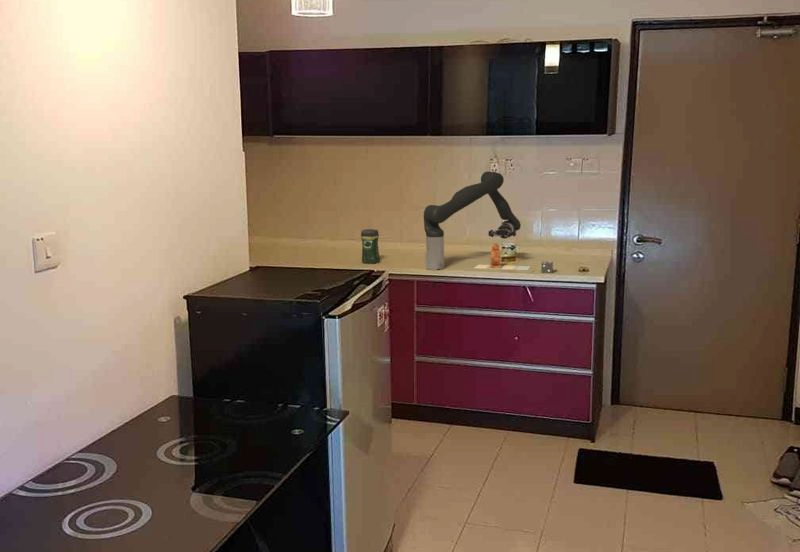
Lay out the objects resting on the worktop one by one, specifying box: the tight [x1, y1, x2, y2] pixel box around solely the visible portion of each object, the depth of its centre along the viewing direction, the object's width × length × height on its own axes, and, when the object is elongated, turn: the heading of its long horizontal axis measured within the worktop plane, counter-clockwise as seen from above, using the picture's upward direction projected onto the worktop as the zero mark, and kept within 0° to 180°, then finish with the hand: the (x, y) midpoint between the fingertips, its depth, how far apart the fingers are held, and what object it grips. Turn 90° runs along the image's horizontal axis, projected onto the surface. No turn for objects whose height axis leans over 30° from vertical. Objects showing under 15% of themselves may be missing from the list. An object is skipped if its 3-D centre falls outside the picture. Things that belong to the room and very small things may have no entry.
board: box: [474, 264, 531, 271], centre depth 393 cm, size 29×12×2 cm, turn 72°
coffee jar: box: [360, 228, 381, 264], centre depth 422 cm, size 10×8×19 cm
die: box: [541, 261, 554, 274], centre depth 385 cm, size 5×5×5 cm
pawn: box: [489, 243, 502, 269], centre depth 393 cm, size 6×6×12 cm
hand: (499, 235), depth 402 cm, fingers open, 8 cm apart
